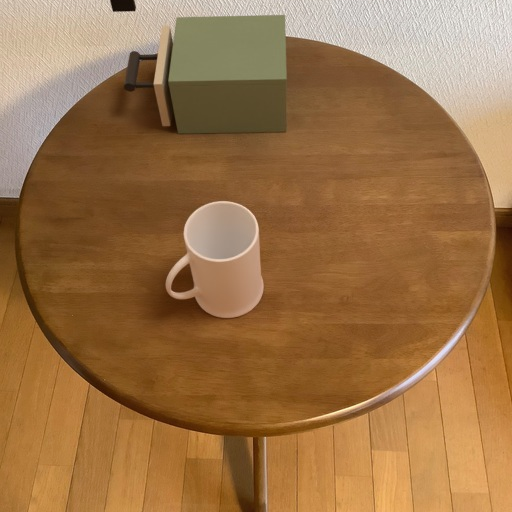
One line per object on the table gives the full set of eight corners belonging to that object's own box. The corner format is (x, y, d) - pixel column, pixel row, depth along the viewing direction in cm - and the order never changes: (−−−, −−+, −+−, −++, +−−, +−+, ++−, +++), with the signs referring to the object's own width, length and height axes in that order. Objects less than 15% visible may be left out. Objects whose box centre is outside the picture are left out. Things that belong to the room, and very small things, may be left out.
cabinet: (178, 133, 93) (168, 81, 84) (184, 70, 100) (176, 17, 92) (286, 132, 92) (286, 78, 84) (284, 68, 100) (285, 14, 92)
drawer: (128, 127, 92) (116, 84, 86) (138, 69, 99) (128, 26, 93) (262, 124, 92) (261, 81, 85) (262, 67, 99) (261, 23, 92)
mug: (187, 342, 74) (173, 289, 64) (158, 287, 78) (140, 230, 68) (276, 299, 76) (275, 242, 66) (243, 248, 81) (237, 187, 71)
